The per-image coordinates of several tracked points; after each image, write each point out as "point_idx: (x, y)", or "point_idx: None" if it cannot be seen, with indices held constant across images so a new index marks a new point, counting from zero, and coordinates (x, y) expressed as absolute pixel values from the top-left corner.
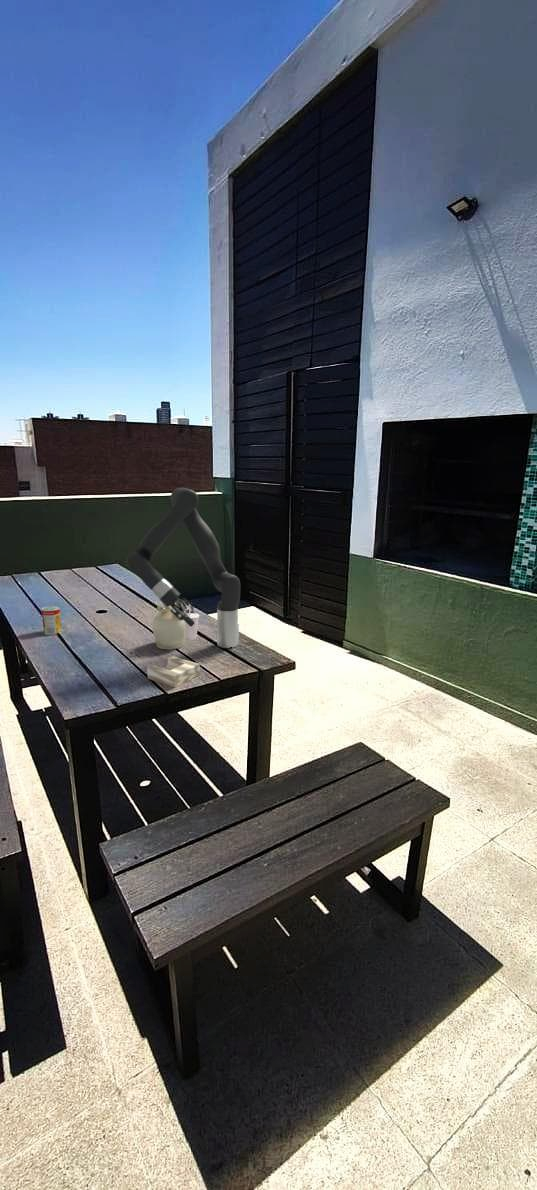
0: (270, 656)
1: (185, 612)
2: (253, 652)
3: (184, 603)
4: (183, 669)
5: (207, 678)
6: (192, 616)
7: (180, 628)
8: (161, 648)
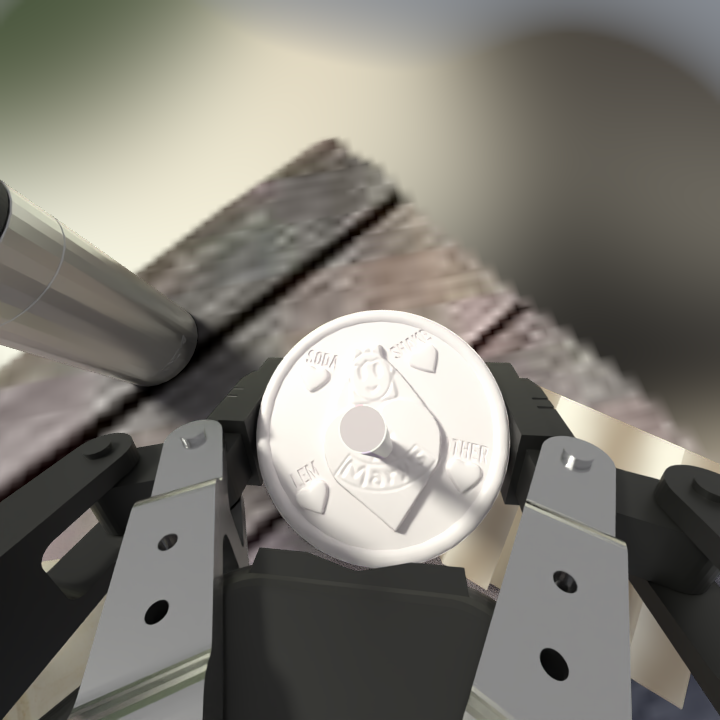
0: (279, 182)
1: (544, 506)
2: (242, 238)
3: (210, 688)
4: (622, 446)
5: (530, 351)
6: (419, 392)
7: (99, 606)
8: None
